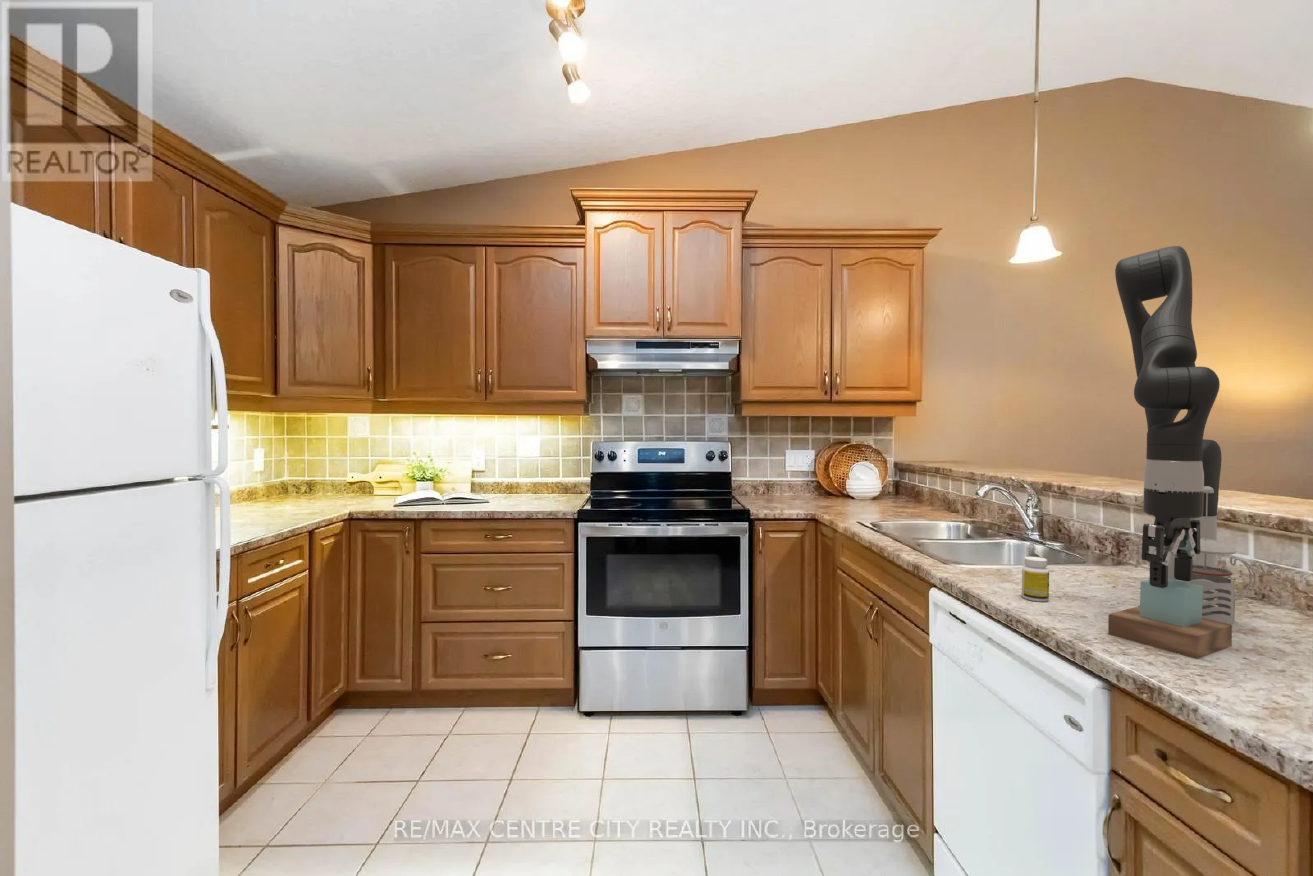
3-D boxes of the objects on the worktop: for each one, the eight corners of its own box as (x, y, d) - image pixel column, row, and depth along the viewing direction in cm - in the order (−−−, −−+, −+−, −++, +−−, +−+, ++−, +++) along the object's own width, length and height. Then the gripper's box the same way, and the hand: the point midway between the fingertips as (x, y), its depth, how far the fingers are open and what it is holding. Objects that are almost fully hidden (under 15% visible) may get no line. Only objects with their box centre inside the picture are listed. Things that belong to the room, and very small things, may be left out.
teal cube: (1157, 611, 102) (1158, 577, 102) (1201, 621, 97) (1202, 586, 97) (1139, 616, 99) (1140, 581, 99) (1183, 627, 94) (1184, 590, 94)
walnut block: (1143, 626, 106) (1144, 604, 106) (1231, 649, 95) (1231, 624, 95) (1108, 637, 101) (1108, 614, 101) (1197, 662, 90) (1197, 636, 90)
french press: (1160, 610, 114) (1163, 482, 114) (1240, 619, 109) (1243, 485, 108) (1178, 625, 105) (1182, 487, 105) (1266, 636, 100) (1270, 490, 100)
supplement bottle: (1053, 603, 118) (1053, 561, 118) (1027, 601, 119) (1028, 560, 119) (1042, 596, 123) (1043, 556, 123) (1017, 594, 124) (1018, 555, 124)
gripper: (1166, 483, 104) (1164, 573, 104) (1124, 487, 98) (1122, 583, 98) (1221, 487, 97) (1219, 583, 98) (1181, 491, 91) (1178, 595, 91)
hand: (1170, 583), depth 98 cm, fingers open, 8 cm apart
